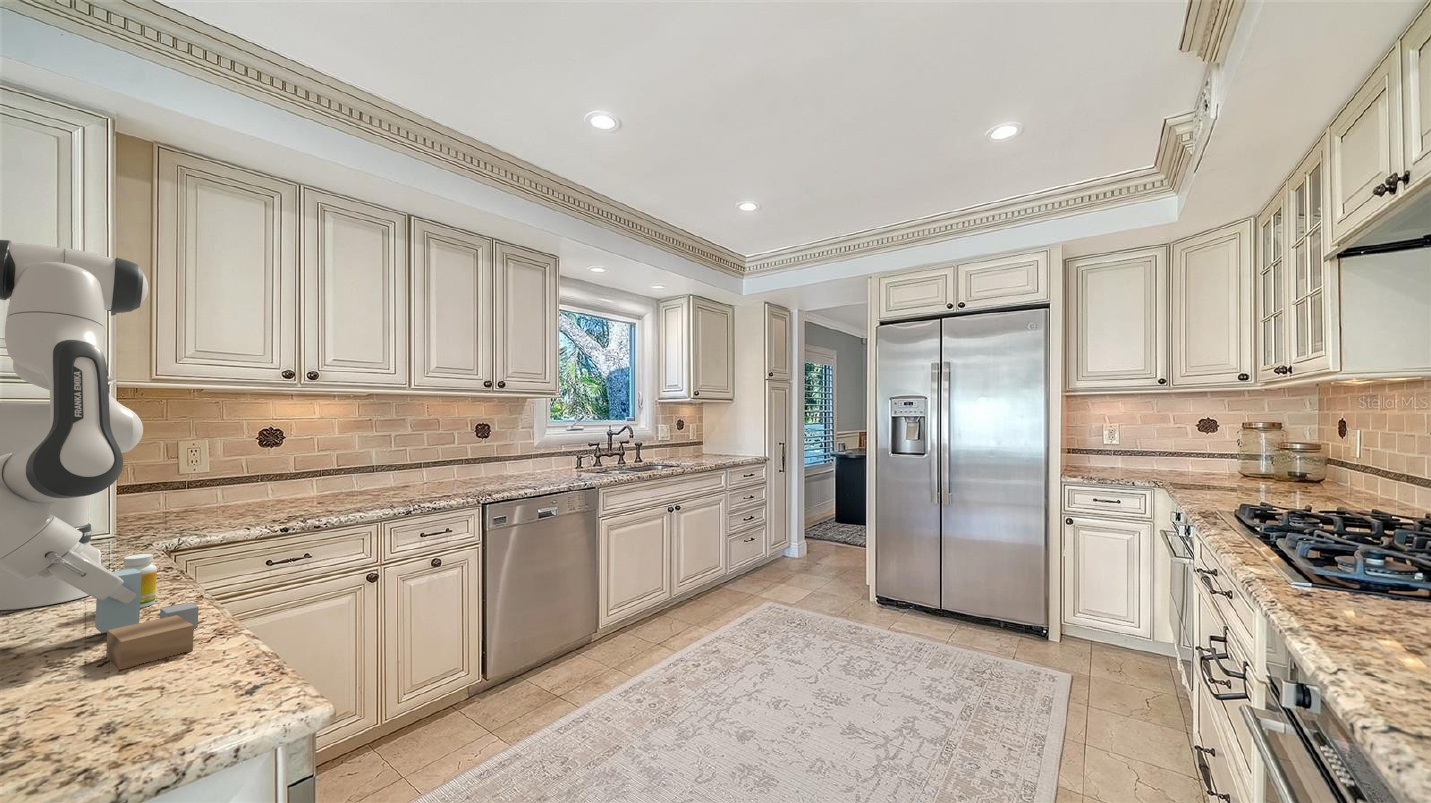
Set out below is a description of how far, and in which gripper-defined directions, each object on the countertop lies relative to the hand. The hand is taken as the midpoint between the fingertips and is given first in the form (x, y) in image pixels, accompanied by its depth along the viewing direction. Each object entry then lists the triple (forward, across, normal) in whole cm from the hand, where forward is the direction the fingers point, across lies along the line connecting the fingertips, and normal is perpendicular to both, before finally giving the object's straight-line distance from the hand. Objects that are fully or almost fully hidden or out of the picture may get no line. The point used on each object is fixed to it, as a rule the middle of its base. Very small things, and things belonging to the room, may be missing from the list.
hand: (126, 595), depth 97 cm
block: (+8, -7, +1) cm, 11 cm away
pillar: (+3, 0, +4) cm, 5 cm away
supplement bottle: (+8, +16, +1) cm, 18 cm away
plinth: (+4, -16, +4) cm, 17 cm away
